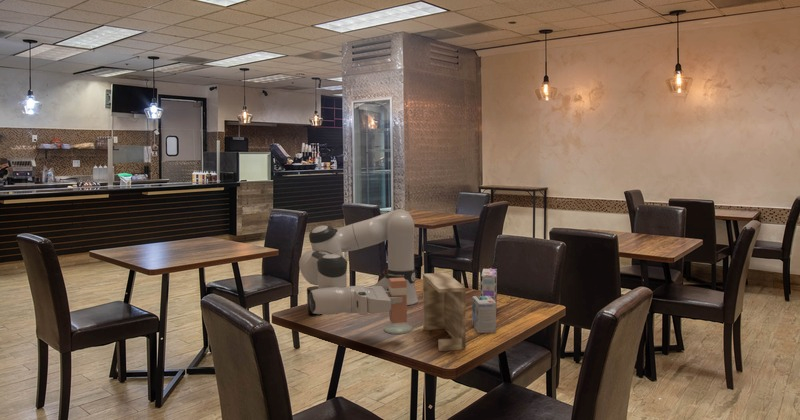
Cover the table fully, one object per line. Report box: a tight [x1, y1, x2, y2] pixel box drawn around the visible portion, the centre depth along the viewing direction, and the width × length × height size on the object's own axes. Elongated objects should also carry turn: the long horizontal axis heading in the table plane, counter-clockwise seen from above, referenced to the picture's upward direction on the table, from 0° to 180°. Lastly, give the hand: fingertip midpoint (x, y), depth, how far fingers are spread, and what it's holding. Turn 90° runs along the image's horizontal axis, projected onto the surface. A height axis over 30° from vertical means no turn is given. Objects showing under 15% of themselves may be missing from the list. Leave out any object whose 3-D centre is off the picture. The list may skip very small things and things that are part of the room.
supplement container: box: [306, 285, 321, 316], centre depth 225 cm, size 7×7×10 cm
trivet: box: [383, 323, 413, 335], centre depth 204 cm, size 10×10×1 cm
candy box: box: [480, 268, 498, 310], centre depth 224 cm, size 14×6×16 cm, turn 168°
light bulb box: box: [471, 295, 497, 334], centre depth 204 cm, size 11×7×11 cm, turn 5°
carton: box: [388, 277, 408, 324], centre depth 189 cm, size 5×5×14 cm
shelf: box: [422, 272, 467, 352], centre depth 193 cm, size 9×23×20 cm, turn 10°
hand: (400, 296), depth 189 cm, fingers closed on carton, 5 cm apart
